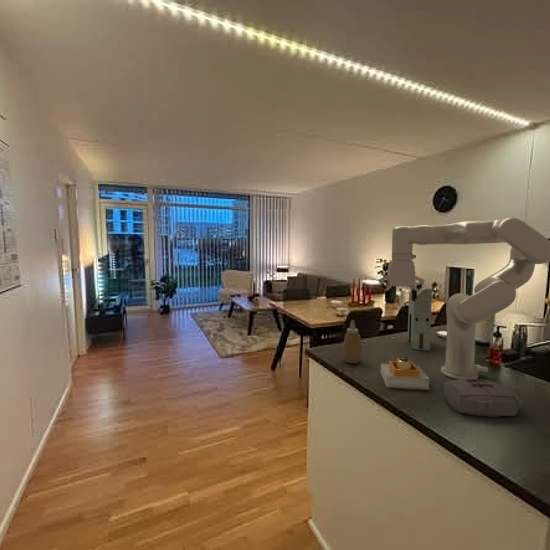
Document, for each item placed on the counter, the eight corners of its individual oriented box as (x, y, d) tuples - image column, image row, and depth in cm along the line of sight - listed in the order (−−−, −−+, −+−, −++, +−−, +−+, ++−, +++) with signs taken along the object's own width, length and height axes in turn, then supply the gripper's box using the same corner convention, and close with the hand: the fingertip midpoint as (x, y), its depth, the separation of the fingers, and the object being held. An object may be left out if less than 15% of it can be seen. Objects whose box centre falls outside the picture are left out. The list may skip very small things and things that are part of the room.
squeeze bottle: (362, 365, 130) (363, 323, 128) (342, 364, 132) (343, 322, 130) (361, 358, 138) (361, 319, 136) (342, 357, 140) (343, 318, 138)
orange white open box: (418, 375, 119) (419, 360, 119) (428, 389, 107) (429, 373, 107) (380, 373, 121) (381, 358, 121) (386, 387, 110) (387, 370, 109)
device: (407, 339, 166) (409, 284, 163) (423, 340, 164) (425, 284, 161) (412, 349, 150) (414, 288, 147) (429, 350, 148) (432, 288, 145)
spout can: (412, 384, 112) (413, 360, 111) (397, 383, 113) (398, 360, 112) (407, 377, 118) (408, 354, 117) (393, 376, 119) (394, 354, 118)
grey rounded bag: (459, 419, 89) (534, 422, 87) (461, 391, 89) (536, 394, 87) (437, 394, 104) (501, 397, 102) (438, 370, 104) (502, 372, 102)
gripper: (422, 257, 124) (420, 299, 126) (377, 257, 127) (376, 298, 129) (428, 258, 117) (426, 302, 118) (380, 258, 120) (379, 301, 121)
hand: (400, 300), depth 124 cm, fingers open, 9 cm apart
